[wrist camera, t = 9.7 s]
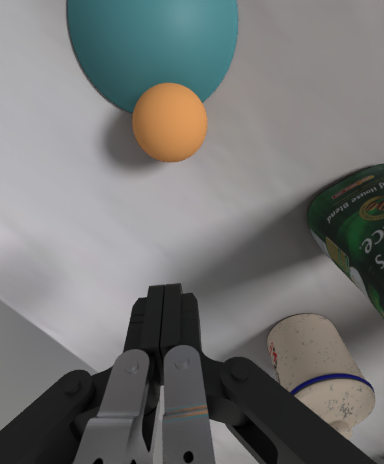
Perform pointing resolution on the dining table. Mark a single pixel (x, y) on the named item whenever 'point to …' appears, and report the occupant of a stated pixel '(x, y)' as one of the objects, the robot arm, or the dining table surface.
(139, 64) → the teal mark
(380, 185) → the coffee jar
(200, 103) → the ball
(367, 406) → the teacup with lid
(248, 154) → the dining table surface
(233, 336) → the dining table surface
